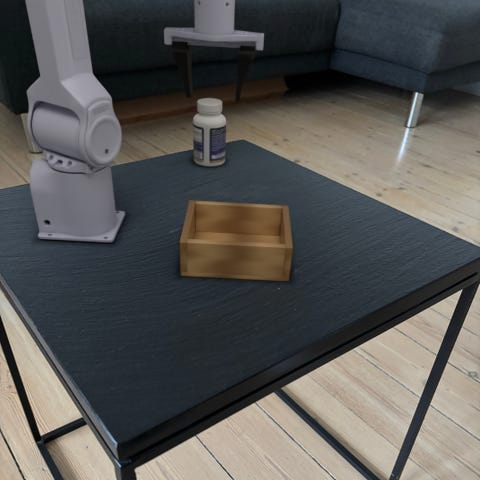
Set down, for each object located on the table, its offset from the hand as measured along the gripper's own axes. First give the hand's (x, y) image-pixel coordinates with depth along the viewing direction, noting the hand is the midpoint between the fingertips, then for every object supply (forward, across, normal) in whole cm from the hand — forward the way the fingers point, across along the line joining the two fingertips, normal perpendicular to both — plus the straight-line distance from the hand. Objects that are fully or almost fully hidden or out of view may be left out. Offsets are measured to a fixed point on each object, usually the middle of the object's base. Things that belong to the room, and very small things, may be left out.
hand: (213, 97), depth 81 cm
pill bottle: (+11, +1, 0) cm, 11 cm away
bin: (+10, -6, +30) cm, 32 cm away
